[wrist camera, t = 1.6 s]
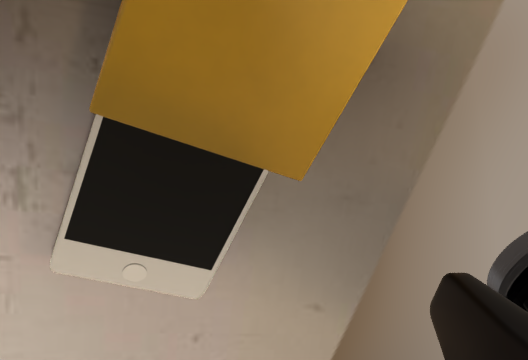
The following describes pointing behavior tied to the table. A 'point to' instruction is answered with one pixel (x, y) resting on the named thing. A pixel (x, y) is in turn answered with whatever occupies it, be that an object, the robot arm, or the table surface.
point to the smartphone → (151, 211)
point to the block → (241, 72)
